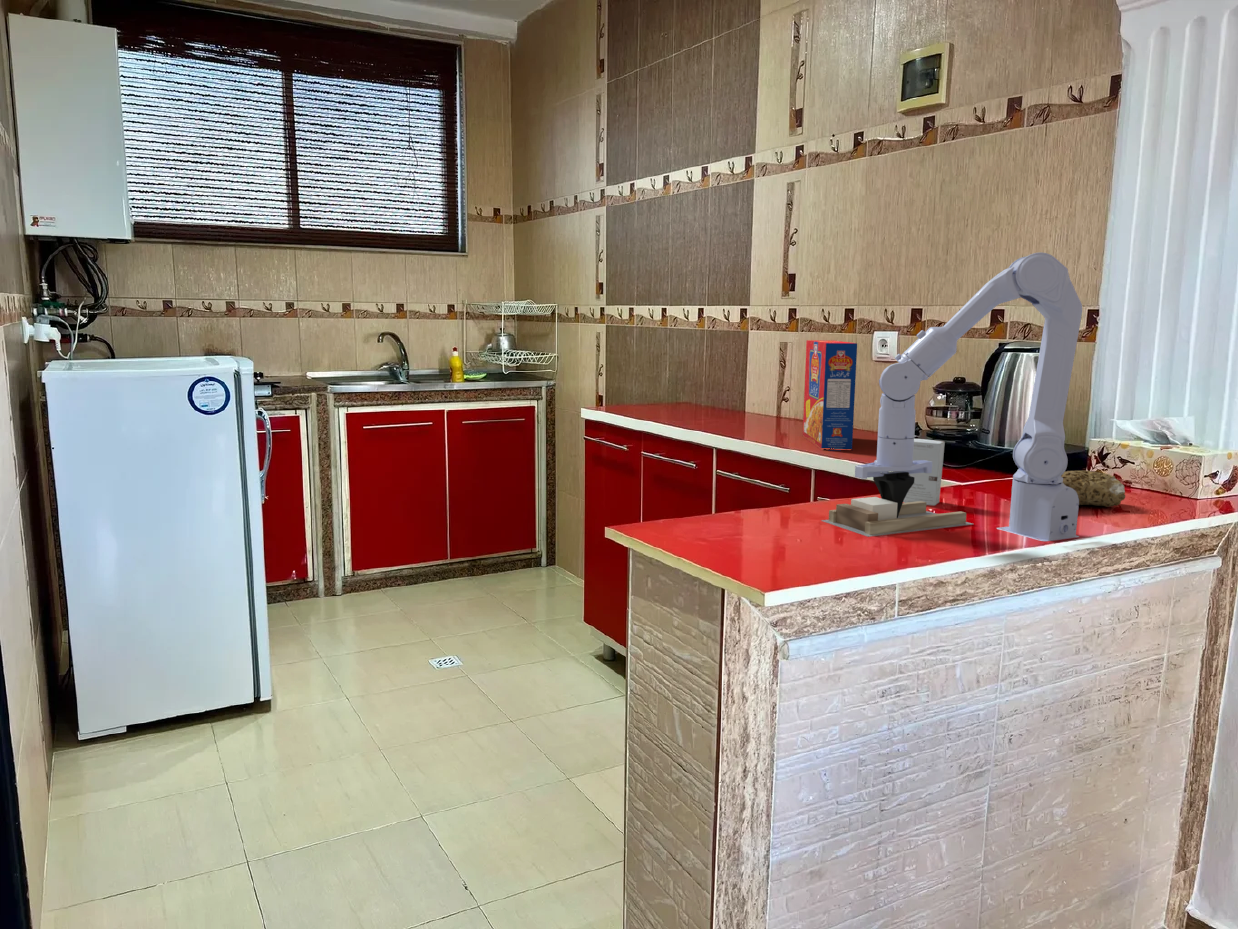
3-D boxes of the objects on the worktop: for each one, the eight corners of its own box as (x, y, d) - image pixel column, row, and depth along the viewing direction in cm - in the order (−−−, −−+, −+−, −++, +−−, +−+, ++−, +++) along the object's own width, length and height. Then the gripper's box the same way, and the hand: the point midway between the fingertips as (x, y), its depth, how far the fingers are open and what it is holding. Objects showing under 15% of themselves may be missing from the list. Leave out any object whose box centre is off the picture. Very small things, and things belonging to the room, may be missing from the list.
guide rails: (965, 523, 147) (966, 505, 147) (869, 534, 139) (870, 516, 139) (920, 511, 157) (922, 494, 156) (828, 520, 149) (829, 503, 148)
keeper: (896, 526, 145) (897, 502, 144) (871, 529, 143) (873, 505, 142) (874, 520, 149) (875, 496, 149) (850, 522, 147) (851, 499, 147)
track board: (973, 527, 147) (973, 523, 147) (867, 540, 138) (868, 536, 138) (921, 512, 158) (922, 509, 158) (820, 523, 149) (820, 520, 149)
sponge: (1099, 506, 171) (995, 482, 173) (1115, 469, 168) (1009, 445, 170) (1123, 534, 159) (1011, 508, 161) (1141, 495, 156) (1026, 469, 158)
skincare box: (901, 505, 164) (905, 440, 162) (906, 501, 168) (910, 437, 166) (936, 509, 161) (940, 443, 159) (940, 504, 165) (945, 440, 163)
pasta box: (802, 436, 260) (806, 340, 256) (830, 436, 260) (834, 340, 256) (821, 450, 233) (826, 343, 228) (851, 450, 233) (857, 343, 228)
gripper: (913, 432, 152) (908, 509, 154) (844, 436, 146) (840, 516, 148) (943, 437, 145) (938, 518, 148) (873, 441, 139) (868, 525, 142)
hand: (891, 518), depth 147 cm, fingers closed
